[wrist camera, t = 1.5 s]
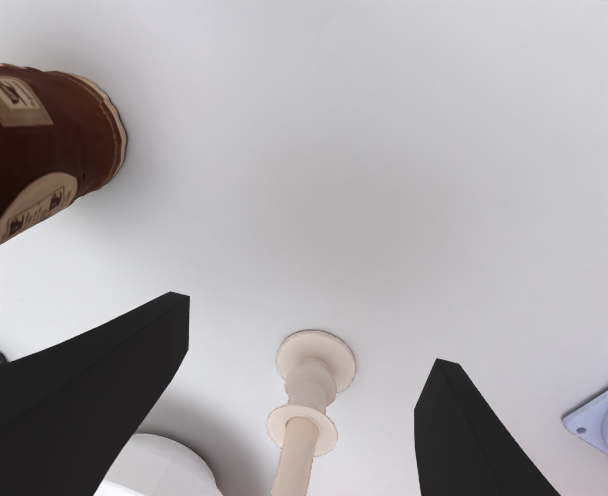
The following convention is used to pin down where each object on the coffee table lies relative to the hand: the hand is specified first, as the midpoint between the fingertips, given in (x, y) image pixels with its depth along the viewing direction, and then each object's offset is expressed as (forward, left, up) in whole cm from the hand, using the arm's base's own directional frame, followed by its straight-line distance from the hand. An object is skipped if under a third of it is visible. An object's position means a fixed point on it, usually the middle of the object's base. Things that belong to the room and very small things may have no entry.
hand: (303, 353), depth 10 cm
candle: (-4, +9, -10) cm, 14 cm away
